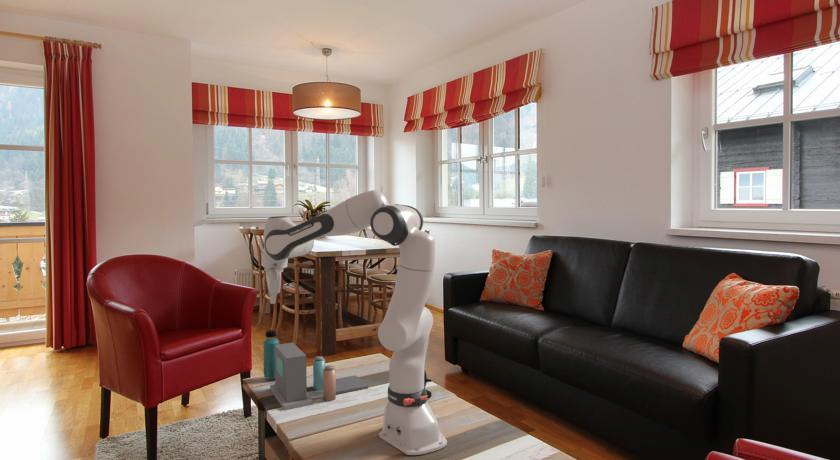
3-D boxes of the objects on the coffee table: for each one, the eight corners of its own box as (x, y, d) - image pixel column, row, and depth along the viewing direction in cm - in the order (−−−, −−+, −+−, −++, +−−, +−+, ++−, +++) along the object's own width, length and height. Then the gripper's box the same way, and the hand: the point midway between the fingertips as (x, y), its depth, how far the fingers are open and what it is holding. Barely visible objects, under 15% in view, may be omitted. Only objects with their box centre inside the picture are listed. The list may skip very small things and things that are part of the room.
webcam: (414, 391, 190) (414, 365, 189) (433, 393, 188) (433, 367, 188) (409, 399, 182) (409, 372, 182) (429, 401, 181) (429, 374, 180)
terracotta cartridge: (337, 399, 181) (337, 367, 181) (325, 402, 179) (325, 369, 178) (333, 395, 185) (333, 363, 185) (321, 397, 183) (321, 365, 182)
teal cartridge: (326, 388, 192) (326, 358, 191) (315, 390, 190) (315, 360, 189) (322, 384, 196) (322, 355, 195) (311, 386, 194) (311, 356, 193)
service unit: (312, 404, 177) (312, 356, 176) (284, 410, 172) (283, 360, 171) (295, 384, 196) (295, 340, 195) (269, 388, 191) (269, 344, 190)
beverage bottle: (277, 382, 198) (277, 333, 197) (261, 382, 198) (260, 332, 197) (282, 376, 205) (281, 328, 203) (266, 376, 205) (265, 328, 204)
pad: (368, 388, 193) (368, 385, 192) (336, 394, 186) (336, 391, 186) (355, 377, 204) (355, 375, 204) (325, 383, 197) (325, 380, 197)
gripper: (286, 267, 166) (283, 307, 167) (281, 256, 185) (279, 292, 186) (266, 267, 164) (263, 307, 165) (264, 255, 183) (261, 292, 184)
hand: (271, 299), depth 176 cm, fingers open, 8 cm apart
